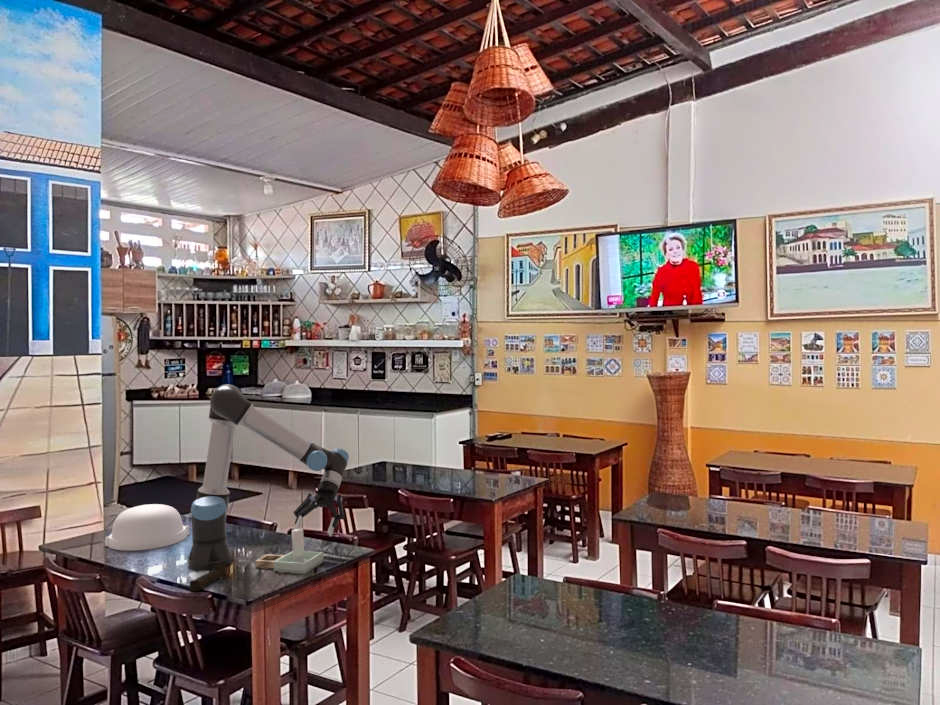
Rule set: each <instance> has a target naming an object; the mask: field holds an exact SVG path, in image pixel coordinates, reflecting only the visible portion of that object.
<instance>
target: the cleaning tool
mask: <svg viewBox="0 0 940 705" xmlns="http://www.w3.org/2000/svg"><path fill="white" fill-rule="evenodd" d="M304 539H305V538H304V528H300V529H292V530H291V545H292V551H293V562H297V563H305V556H304V551H305V540H304Z"/></svg>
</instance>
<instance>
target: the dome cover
mask: <svg viewBox="0 0 940 705" xmlns="http://www.w3.org/2000/svg"><path fill="white" fill-rule="evenodd" d="M189 535H190V526H189V525H187V524H186V525H184V523H183V519H182V517H181V515H180V512H178V510H177V509H176V508H174V507H173V506H170V505H167V504H162V503H160V504H159V503H152V504H151V503H149V504H141V505H136V506H133V507H130V508H128V509H127V508H126V509H125V510H123V511H121V512H120V513H119V514H118V515H117V516H116V518H115V520H114V522H113V524H112V528H111V533H110V534H109V535H108V536H105V540H104V546H105V547H108V548H109V549H112V550H117V551H142V550H143V551H145V550H153V549H159V548H163V547H168V546H171V545H174V544H178V543H180V542H182V541H184V540H185V539H186V538H188V536H189Z"/></svg>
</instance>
